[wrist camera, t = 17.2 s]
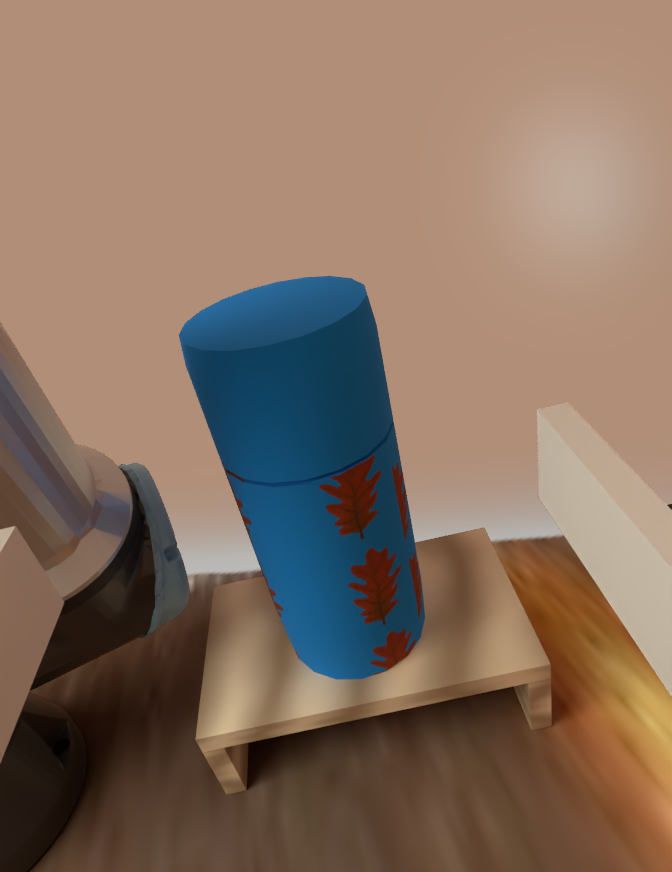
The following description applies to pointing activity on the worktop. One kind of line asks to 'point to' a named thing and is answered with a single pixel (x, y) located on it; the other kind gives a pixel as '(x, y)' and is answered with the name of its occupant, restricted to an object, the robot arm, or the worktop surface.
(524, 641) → the stool
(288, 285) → the thermos
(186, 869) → the worktop surface
